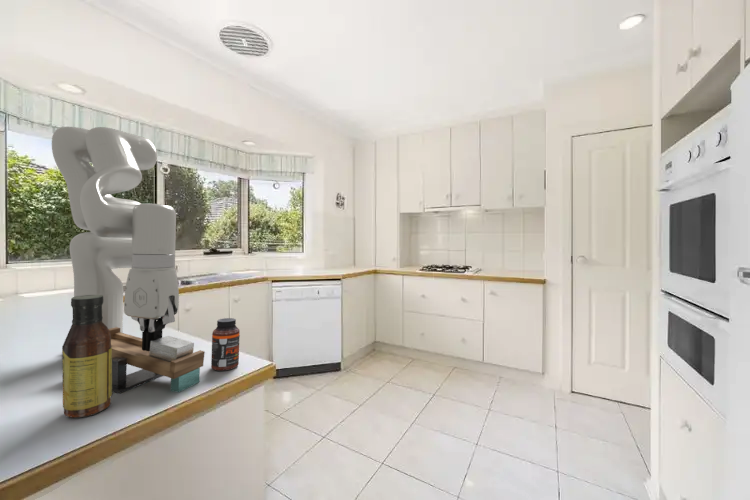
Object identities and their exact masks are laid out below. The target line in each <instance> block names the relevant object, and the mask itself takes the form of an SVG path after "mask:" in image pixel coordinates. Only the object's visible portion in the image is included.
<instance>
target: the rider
mask: <svg viewBox="0 0 750 500" xmlns="http://www.w3.org/2000/svg"><path fill="white" fill-rule="evenodd" d="M194 347H195V342H193V341H189V340H186V339H182V338H178V337H175V336H170V335H167V336H162V338H159V339H156V340H152V341H151V343H150V352H149V356H150V357H153V358H157V359H160V360H163V361H167V362H170V363H171V361H173V360H176V359H178V358H181V357H184V356H186V355H189V354H192V353H194Z"/></svg>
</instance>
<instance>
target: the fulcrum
mask: <svg viewBox="0 0 750 500" xmlns="http://www.w3.org/2000/svg"><path fill="white" fill-rule="evenodd" d="M127 367H128V364H127V359H126V358H120V357H114V358H112V393H114V394H122V393H124V392H126V391H129V390H131V389H134V388H136V387H138V386H141V385H143V384H145V383H149V382H151V381H153V380H157V379H158V378H160V377H163V375H160V374H156V373H153V372H150V371H147V370H144V369H138V370H137V371H134V372H130V373H129V374H127V370H128V369H127ZM200 368H201V367H200ZM200 368H197V369H195V370H193V371H191V372H188V373H186V374H184V375H182V376H179V377H177V378H175V379H172V378H170V391H171V392H175V393H180V392H182V391H184V390H187V389H188V388H190V387H193V386H194V385H196V384H199V383H200V377H201V376H200V370H201V369H200Z"/></svg>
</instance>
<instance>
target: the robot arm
mask: <svg viewBox="0 0 750 500" xmlns="http://www.w3.org/2000/svg"><path fill="white" fill-rule="evenodd" d="M51 152H52V157H53V159H54V162H55V164H56V166H57V169H58V170H59V172H60V174H61V175H62V177H63V179H64V181H65V184H66V187H67V188H66V189H67V193H68V195H67V196H68V200H69V205H70V211H71V216H72V220H73V222H74V224H75V225H76V227H77V228H79V229H82V230H84V231H86V232H80V233H78V234H77V235H75V236H73V238H72V239H71V240H70V242H69V254H70V255H69V256H70V259H71V265H72V270H73V271H72V272H73V297H76V296H83V295H102V296H103V304H102V317H103V319H102V322H103V323H104V324H105V325H106V326H107V328H108V329H110V328H115V327H118V328H120V332H121V333H123V330H124V328H123V327H124V325H123V324H124V323H123V320H124V314H125V315H126V316H128V317H130V318H131V319H132V320H133V321H136V322H137V323H138V324H139V331H141V338H142V350H143V351H150V343H151V341H152V340H156V339H159V338H163V330H164V329H165V328H166V325H168V324H172V323H175V322H176V320H175V319H176V318H175V315H177V314H178V311H179V306H180V305H179V303H180V301H179V300H180V296H179V295H180V293H179V292H180V291H179V282H178V275H177V270H176V236H177V235H176V234H177V233H176V230H177V228H176V227H177V226H176V225H177V214H176V213H177V212H176V210H175V208H174V207H173V206H170V205H167V204H166V205H165V204H162V203H161V204H158V203H141V202H139V201H137V200H133V199H127V198H119V197H114V196H113V195H114V194H120V193H122V192H123V193H124V192H127V191H131V190H133V189H135V188H136V187H138V186H139V185H140V184H141V182H142V179H143V174H142V172H141V171H149V170H150V169H152V168H154V166H155V165H156V164H157V162H158V161H157V160H158V151H157V149H156V146H155V145H154V143H153V142H152V141H151V140H150V139H148V138H146V137H143V136H140V135H138V134H137V135H136V134H133V133H129V132H127V131H123V130H119V129H115V128H112V127H106V126H105V127H104V126H97V127H93V128H91V129H86V128H82V127H77V126H62V127H61V126H60V127H58V128H57V129H56V130H55V131H54V132H53V134H52V136H51ZM90 163H91V164H92V165H91V164H90ZM115 269H129V271H128V274H127V279H126V283H125V289H124V284H123V282H122V280H121V279H120V278H119V276H117V274H115V273H114V272H113V271H112V270H115Z"/></svg>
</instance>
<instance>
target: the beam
mask: <svg viewBox="0 0 750 500" xmlns="http://www.w3.org/2000/svg"><path fill="white" fill-rule="evenodd" d="M109 331H110V333H111V346H112V358H114V357H120V358H126V359H127V366H128V365H129V366H131V367H134V368H138V369H140V370H142V369H144V370H147V371H150V372H153V373H156V374H160V375H163V376H164V377H167V378H169V379H171V378H172V379H175V378H177V377H179V376H182V375H184V374H186V373H188V372H191V371H193V370H195V369H197V368H202V367H203V366H204V360H205V353H206V352H205V350H201V349H200V350H197V351H193V353H192V354H189V355H186V356H184V357H181V358H178V359H176V360H173V361H171V363H170V362H167V361H163V360H160V359H157V358H153V357H150V356H149V352H150V351H143V350H142V337H138V336H134V335H131V334H127V333H121V332H120V328H118V327H115V328H110V329H109ZM163 376H162V377H163Z"/></svg>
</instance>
